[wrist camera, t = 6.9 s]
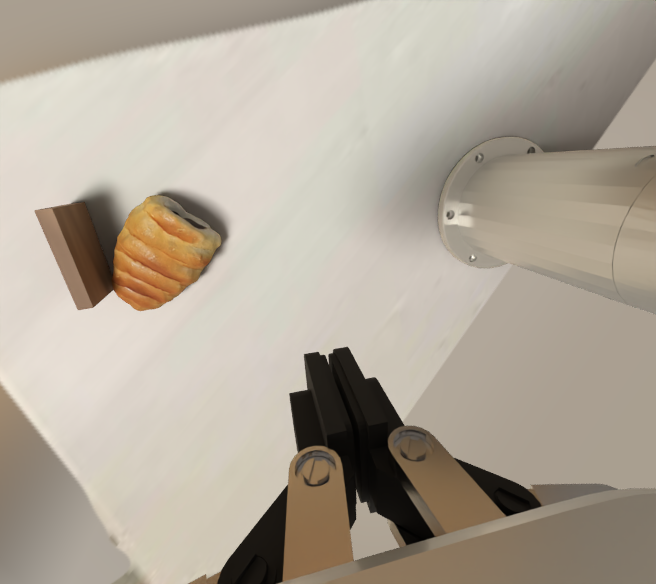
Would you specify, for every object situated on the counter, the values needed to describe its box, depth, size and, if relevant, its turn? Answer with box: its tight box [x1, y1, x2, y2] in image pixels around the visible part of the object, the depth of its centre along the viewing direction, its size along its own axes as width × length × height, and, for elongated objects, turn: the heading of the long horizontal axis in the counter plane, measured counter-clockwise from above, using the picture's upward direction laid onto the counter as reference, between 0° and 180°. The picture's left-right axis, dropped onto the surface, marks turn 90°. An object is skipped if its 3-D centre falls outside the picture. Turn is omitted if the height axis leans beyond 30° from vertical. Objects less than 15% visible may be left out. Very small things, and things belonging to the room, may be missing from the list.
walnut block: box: [35, 202, 114, 310], centre depth 24 cm, size 1×7×4 cm, turn 6°
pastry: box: [111, 195, 221, 311], centre depth 26 cm, size 9×7×4 cm
